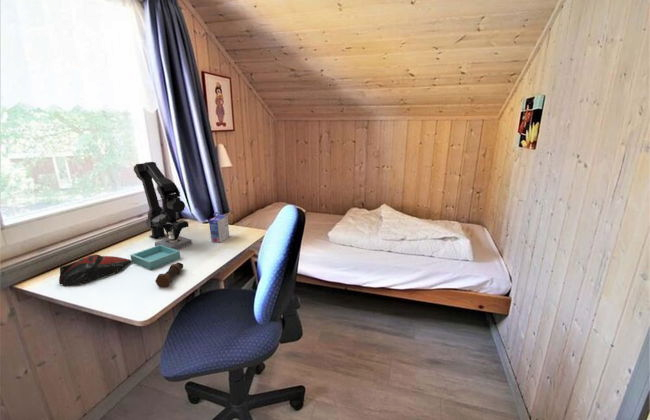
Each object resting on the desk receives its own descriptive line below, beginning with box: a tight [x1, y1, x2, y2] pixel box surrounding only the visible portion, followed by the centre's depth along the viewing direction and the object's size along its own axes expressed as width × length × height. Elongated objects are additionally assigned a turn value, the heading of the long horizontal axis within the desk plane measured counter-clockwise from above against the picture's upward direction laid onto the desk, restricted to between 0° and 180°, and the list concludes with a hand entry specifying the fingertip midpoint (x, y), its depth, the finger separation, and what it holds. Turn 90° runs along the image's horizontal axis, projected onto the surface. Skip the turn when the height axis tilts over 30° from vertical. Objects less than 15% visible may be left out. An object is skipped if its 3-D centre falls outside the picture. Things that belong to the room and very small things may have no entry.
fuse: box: [167, 230, 177, 244], centre depth 156 cm, size 4×4×7 cm
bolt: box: [155, 262, 184, 288], centre depth 124 cm, size 6×5×15 cm
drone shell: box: [58, 253, 132, 287], centre depth 126 cm, size 21×20×8 cm
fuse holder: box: [154, 235, 193, 250], centre depth 156 cm, size 12×12×2 cm
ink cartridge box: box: [208, 211, 230, 244], centre depth 164 cm, size 10×6×14 cm, turn 167°
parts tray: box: [129, 245, 182, 271], centre depth 139 cm, size 14×14×4 cm
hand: (173, 238), depth 156 cm, fingers open, 5 cm apart
